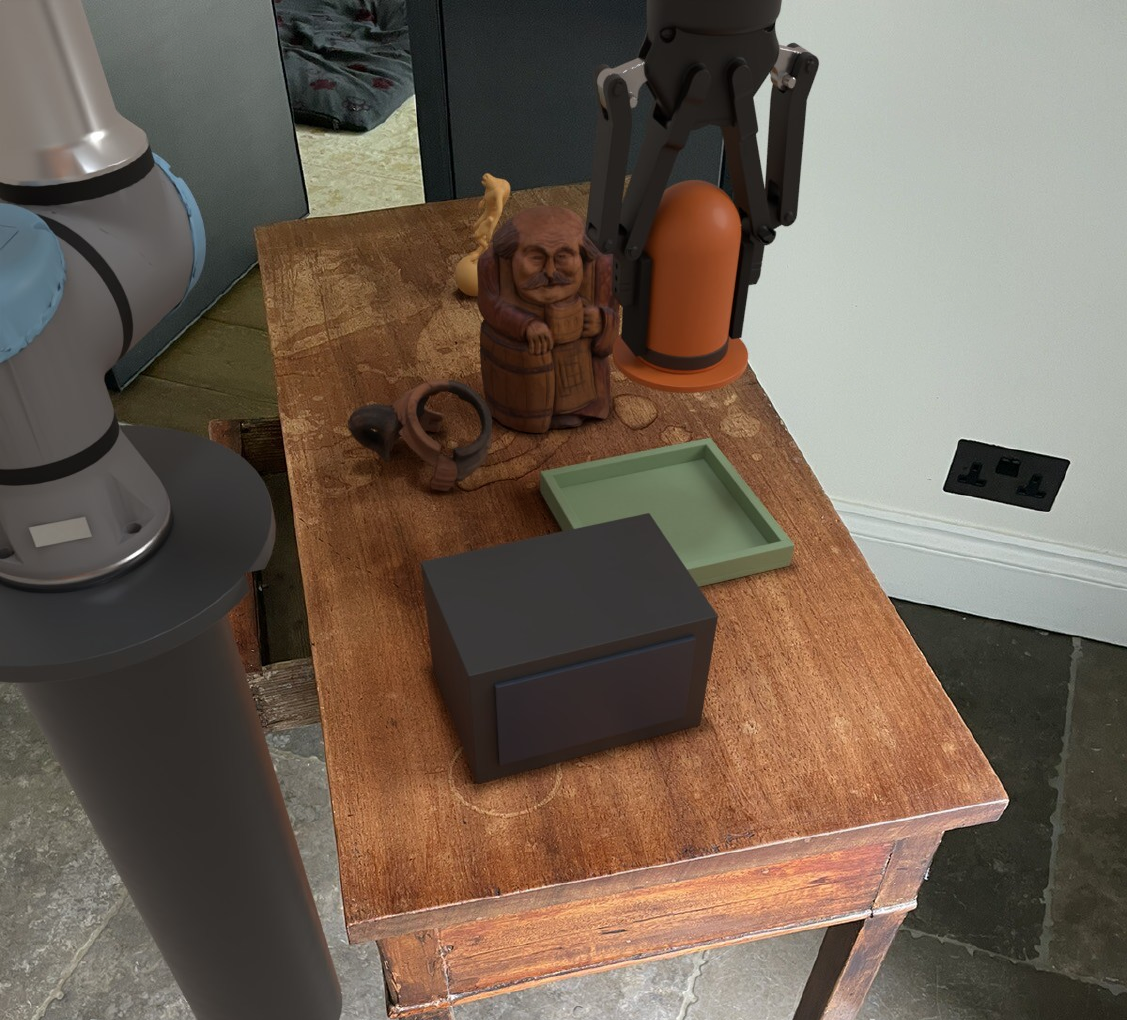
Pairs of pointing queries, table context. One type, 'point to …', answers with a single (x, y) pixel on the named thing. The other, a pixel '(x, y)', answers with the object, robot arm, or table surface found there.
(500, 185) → the figurine
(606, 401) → the wooden figurine
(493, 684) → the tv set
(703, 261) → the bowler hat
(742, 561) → the tray
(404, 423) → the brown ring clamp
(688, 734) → the table surface
